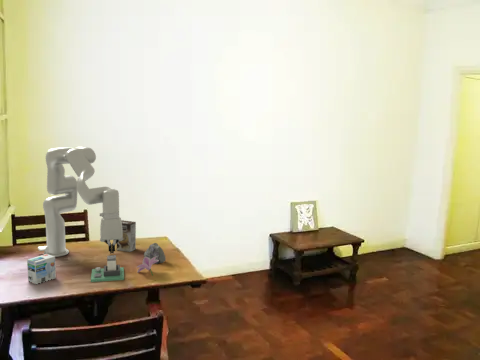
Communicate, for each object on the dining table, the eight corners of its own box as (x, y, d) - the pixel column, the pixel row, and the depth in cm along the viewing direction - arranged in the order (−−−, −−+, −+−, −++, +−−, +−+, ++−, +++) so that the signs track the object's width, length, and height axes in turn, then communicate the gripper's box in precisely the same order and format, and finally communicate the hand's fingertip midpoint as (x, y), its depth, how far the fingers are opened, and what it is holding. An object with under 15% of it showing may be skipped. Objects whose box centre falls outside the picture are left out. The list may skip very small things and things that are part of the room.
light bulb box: (36, 285, 215) (35, 262, 213) (27, 281, 218) (26, 259, 216) (56, 277, 224) (55, 256, 222) (47, 274, 227) (46, 253, 225)
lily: (163, 271, 238) (156, 254, 240) (164, 270, 227) (157, 252, 228) (140, 281, 235) (133, 262, 237) (139, 280, 224) (133, 261, 225)
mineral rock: (143, 257, 256) (143, 239, 255) (163, 255, 259) (163, 238, 258) (145, 265, 244) (145, 246, 243) (166, 263, 247) (166, 245, 246)
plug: (107, 275, 226) (107, 259, 224) (107, 271, 230) (107, 255, 229) (116, 274, 227) (115, 258, 225) (116, 270, 231) (115, 255, 230)
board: (90, 282, 220) (90, 274, 219) (92, 271, 233) (92, 264, 232) (124, 279, 224) (123, 272, 223) (123, 269, 237) (123, 262, 236)
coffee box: (116, 250, 266) (115, 222, 263) (122, 246, 272) (121, 219, 269) (130, 252, 264) (130, 224, 261) (136, 248, 270) (136, 221, 267)
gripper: (94, 218, 218) (95, 256, 221) (127, 216, 222) (128, 254, 225) (94, 214, 225) (95, 251, 228) (127, 213, 229) (127, 249, 232)
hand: (111, 252), depth 227 cm, fingers closed
